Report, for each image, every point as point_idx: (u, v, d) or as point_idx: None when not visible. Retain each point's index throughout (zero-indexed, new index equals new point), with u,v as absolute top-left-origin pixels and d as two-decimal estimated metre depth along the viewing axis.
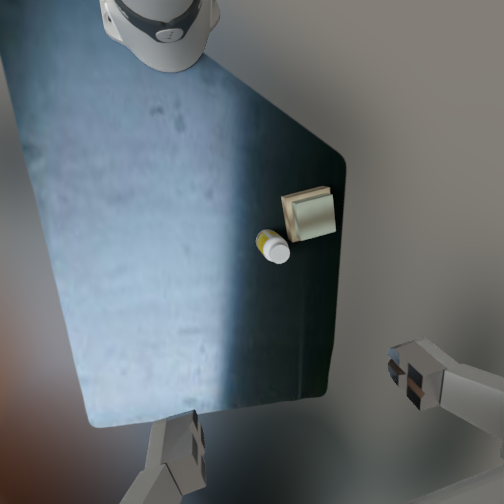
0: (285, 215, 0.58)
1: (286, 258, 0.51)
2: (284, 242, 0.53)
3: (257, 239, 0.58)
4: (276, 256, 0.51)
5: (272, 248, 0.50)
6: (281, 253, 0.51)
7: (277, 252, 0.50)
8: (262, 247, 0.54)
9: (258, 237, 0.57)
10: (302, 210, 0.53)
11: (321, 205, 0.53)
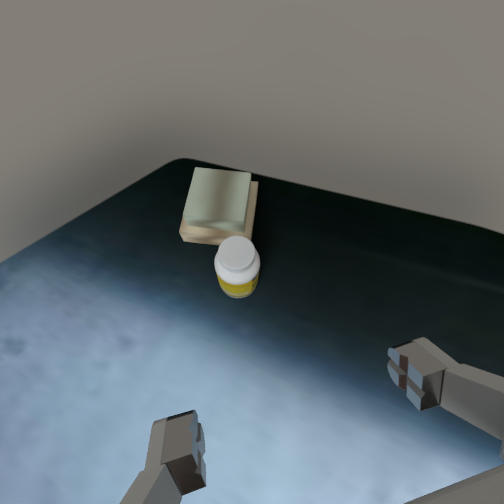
0: (210, 241, 0.38)
1: (249, 243, 0.28)
2: None
3: (226, 292, 0.34)
4: (237, 259, 0.27)
5: (221, 262, 0.28)
6: (235, 249, 0.28)
7: (230, 255, 0.27)
8: (226, 283, 0.30)
9: (223, 289, 0.34)
10: (197, 209, 0.34)
11: (202, 183, 0.36)
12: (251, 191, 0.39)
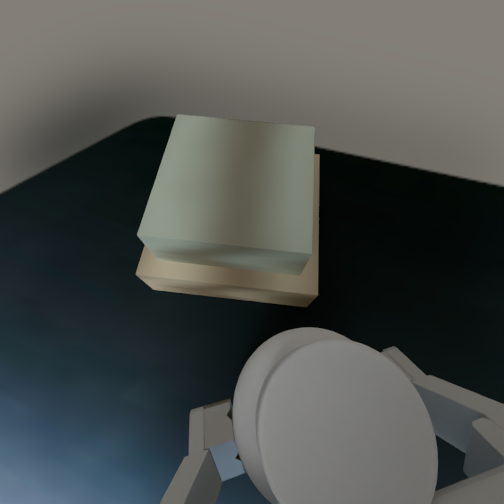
0: (214, 293, 0.16)
1: (397, 385, 0.06)
2: (282, 344, 0.09)
3: None
4: (358, 482, 0.05)
5: None
6: (341, 418, 0.06)
7: (321, 457, 0.06)
8: None
9: None
10: (178, 218, 0.12)
11: (194, 152, 0.14)
12: None
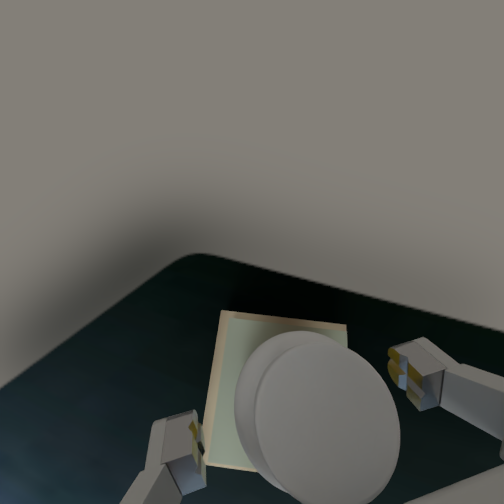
0: None
1: (369, 379, 0.07)
2: (276, 346, 0.10)
3: None
4: (335, 457, 0.07)
5: None
6: (322, 406, 0.07)
7: (306, 437, 0.07)
8: None
9: None
10: (239, 442, 0.15)
11: None
12: None
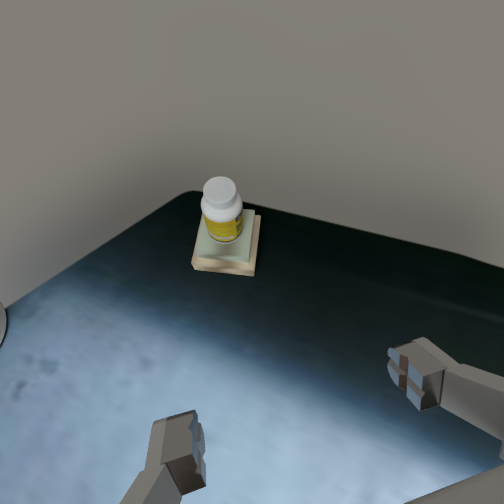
0: (218, 270, 0.42)
1: (230, 182, 0.31)
2: None
3: (213, 237, 0.38)
4: (220, 195, 0.31)
5: (205, 198, 0.31)
6: (218, 187, 0.31)
7: (214, 192, 0.31)
8: (212, 222, 0.33)
9: (211, 235, 0.38)
10: (207, 244, 0.39)
11: None
12: (255, 224, 0.44)
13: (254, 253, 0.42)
